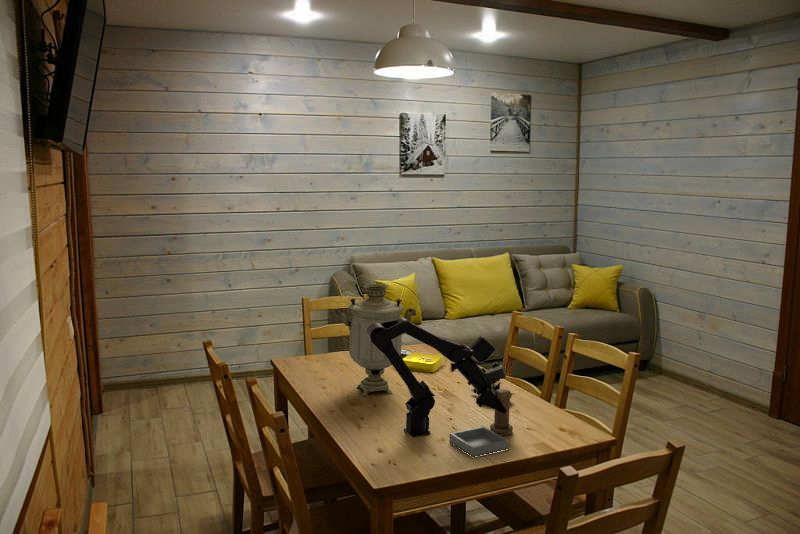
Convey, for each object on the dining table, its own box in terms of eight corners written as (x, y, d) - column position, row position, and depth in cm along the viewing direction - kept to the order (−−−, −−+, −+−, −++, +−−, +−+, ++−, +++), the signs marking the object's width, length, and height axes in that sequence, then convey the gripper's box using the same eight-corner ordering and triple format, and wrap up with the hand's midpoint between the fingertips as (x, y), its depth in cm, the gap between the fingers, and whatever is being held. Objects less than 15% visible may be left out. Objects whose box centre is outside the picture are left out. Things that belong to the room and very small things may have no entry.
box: (473, 458, 192) (473, 448, 192) (449, 442, 203) (449, 433, 203) (508, 450, 198) (508, 440, 197) (483, 435, 209) (483, 426, 208)
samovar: (418, 379, 265) (419, 280, 260) (412, 401, 240) (414, 291, 234) (344, 376, 268) (344, 278, 263) (331, 397, 242) (330, 289, 237)
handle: (498, 436, 207) (500, 396, 205) (485, 429, 213) (487, 389, 211) (516, 433, 210) (518, 393, 209) (503, 425, 216) (504, 386, 215)
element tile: (445, 364, 288) (445, 353, 288) (433, 373, 275) (433, 362, 274) (413, 360, 294) (413, 350, 293) (400, 369, 280) (400, 358, 280)
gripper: (488, 364, 200) (523, 403, 199) (494, 349, 218) (527, 385, 217) (461, 387, 203) (496, 426, 202) (469, 370, 221) (502, 406, 220)
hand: (506, 409), depth 210 cm, fingers closed on handle, 5 cm apart
